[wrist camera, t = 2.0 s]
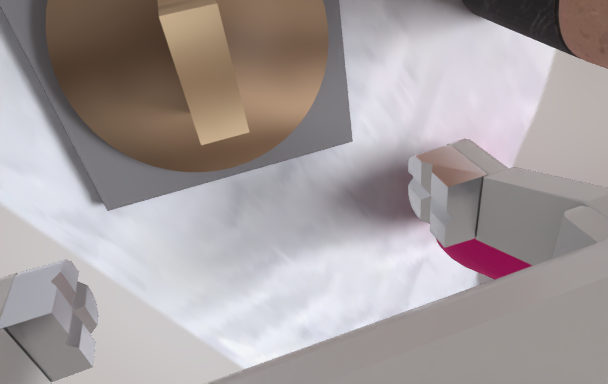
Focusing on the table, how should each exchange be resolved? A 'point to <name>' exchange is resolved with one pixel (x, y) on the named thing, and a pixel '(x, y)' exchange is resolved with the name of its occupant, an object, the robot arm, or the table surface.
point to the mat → (157, 181)
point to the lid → (189, 74)
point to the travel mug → (554, 23)
